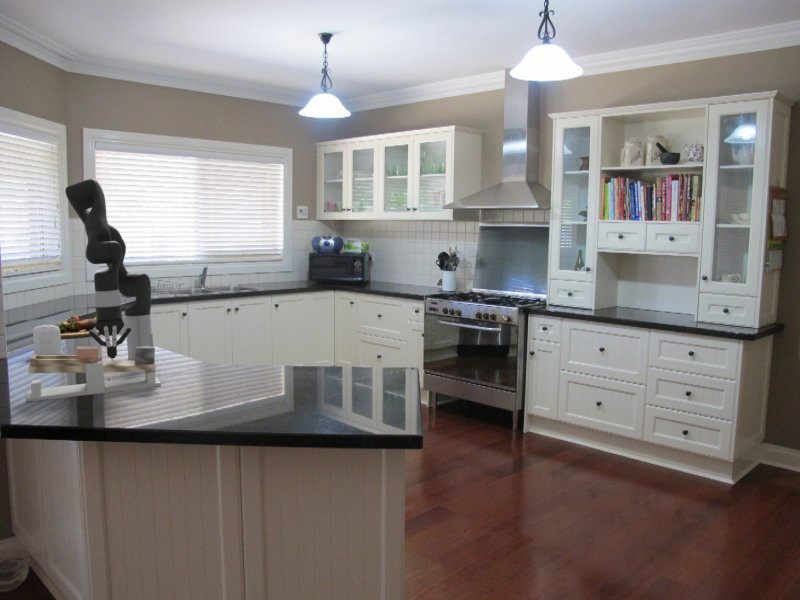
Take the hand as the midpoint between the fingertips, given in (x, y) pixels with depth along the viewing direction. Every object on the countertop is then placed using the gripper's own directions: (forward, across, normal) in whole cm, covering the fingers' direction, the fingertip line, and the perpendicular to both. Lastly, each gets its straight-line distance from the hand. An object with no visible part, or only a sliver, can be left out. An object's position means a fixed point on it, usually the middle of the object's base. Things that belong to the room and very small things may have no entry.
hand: (112, 357), depth 215 cm
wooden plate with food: (+10, +10, -129) cm, 129 cm away
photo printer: (+10, +21, -73) cm, 77 cm away
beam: (+2, +6, 0) cm, 6 cm away
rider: (+1, +8, 0) cm, 8 cm away
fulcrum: (+10, +6, 0) cm, 11 cm away
